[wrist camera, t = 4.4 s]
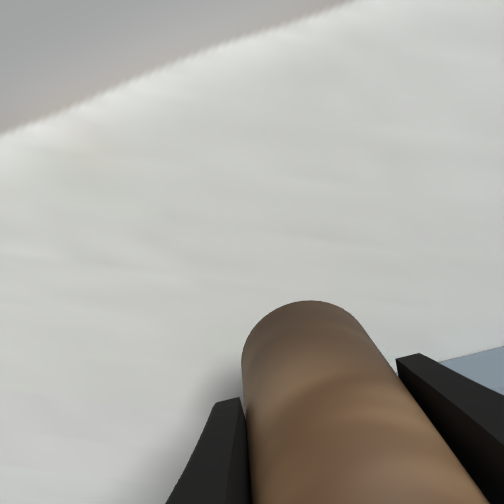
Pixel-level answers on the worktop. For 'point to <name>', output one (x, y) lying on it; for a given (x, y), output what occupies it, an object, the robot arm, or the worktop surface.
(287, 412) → the walnut peg
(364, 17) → the worktop surface
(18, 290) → the worktop surface
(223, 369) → the worktop surface
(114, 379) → the worktop surface
